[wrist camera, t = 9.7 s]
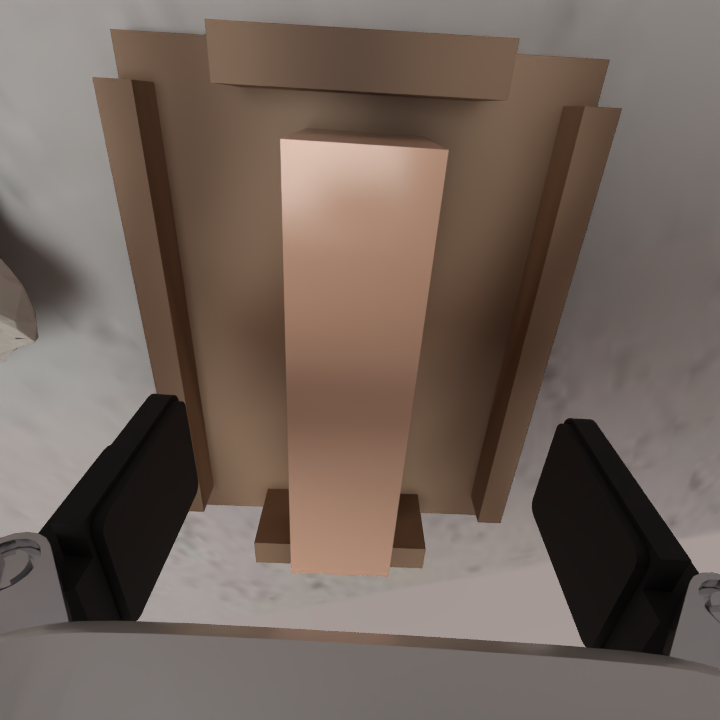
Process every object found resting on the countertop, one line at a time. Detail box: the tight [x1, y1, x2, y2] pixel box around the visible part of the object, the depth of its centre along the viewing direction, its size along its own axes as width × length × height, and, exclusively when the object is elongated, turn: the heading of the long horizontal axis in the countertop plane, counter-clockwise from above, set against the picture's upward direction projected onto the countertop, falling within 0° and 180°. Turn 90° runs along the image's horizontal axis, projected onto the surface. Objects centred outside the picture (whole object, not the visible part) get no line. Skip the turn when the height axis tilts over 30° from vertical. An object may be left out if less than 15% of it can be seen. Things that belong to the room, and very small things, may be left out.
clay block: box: [280, 128, 449, 576], centre depth 15 cm, size 4×14×5 cm, turn 177°
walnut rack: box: [92, 19, 622, 568], centre depth 16 cm, size 14×18×4 cm
